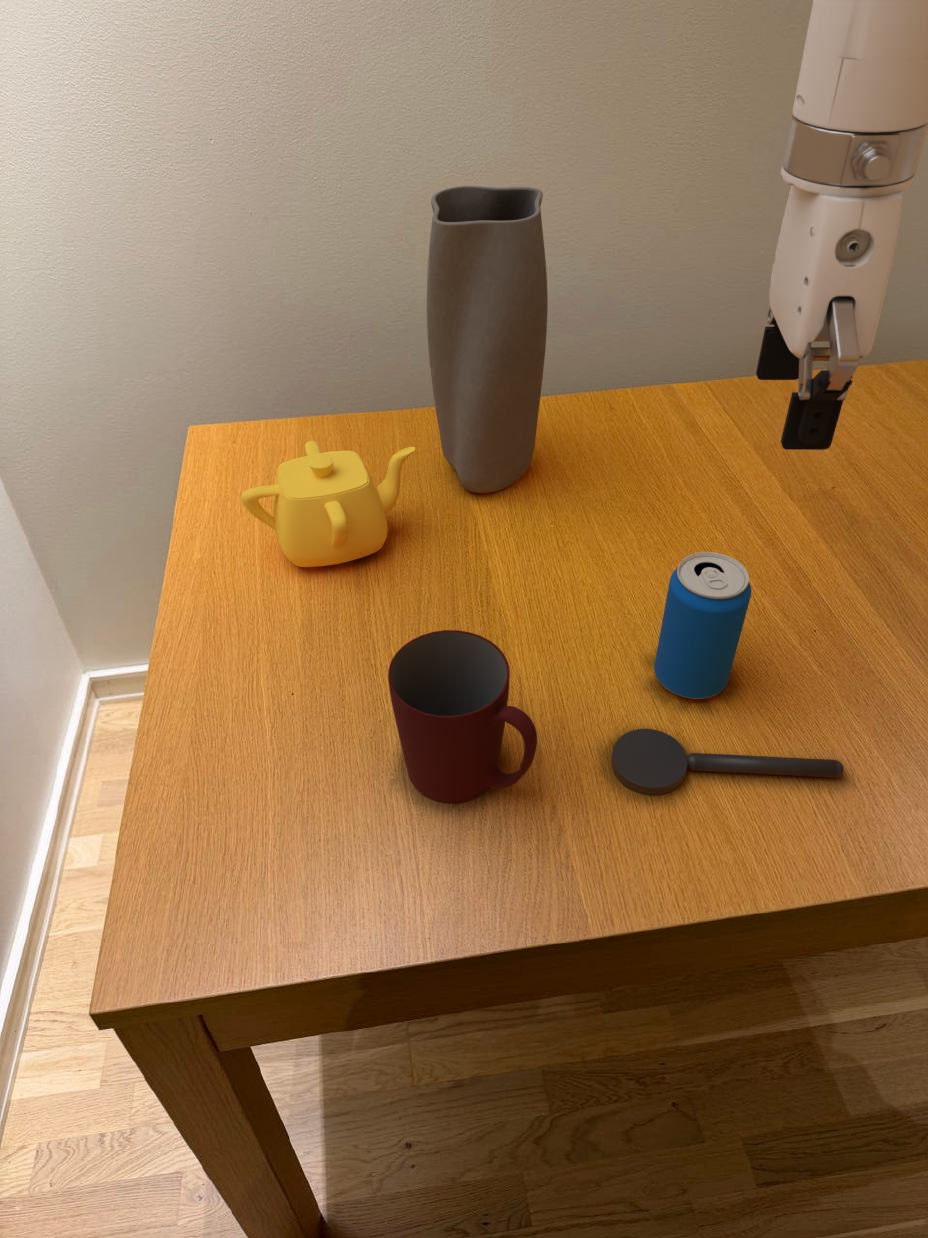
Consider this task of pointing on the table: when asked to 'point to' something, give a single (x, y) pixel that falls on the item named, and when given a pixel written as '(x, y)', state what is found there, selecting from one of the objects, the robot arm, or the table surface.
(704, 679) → the beverage can
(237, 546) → the table surface
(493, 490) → the vase
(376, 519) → the teapot
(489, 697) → the mug
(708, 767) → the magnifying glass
